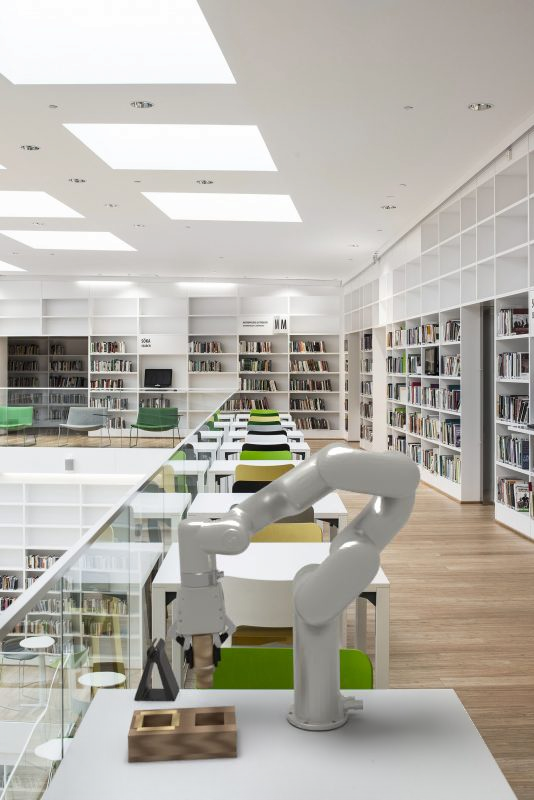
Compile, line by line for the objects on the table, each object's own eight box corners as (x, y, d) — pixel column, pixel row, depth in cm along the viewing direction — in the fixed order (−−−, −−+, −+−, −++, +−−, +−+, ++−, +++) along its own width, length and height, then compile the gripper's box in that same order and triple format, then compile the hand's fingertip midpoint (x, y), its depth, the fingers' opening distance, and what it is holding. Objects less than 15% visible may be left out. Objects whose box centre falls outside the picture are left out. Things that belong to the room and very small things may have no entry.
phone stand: (179, 690, 178) (178, 637, 177) (174, 701, 172) (173, 647, 171) (140, 689, 178) (139, 637, 178) (134, 700, 172) (132, 646, 172)
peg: (215, 680, 165) (213, 628, 164) (215, 689, 160) (212, 636, 160) (194, 682, 165) (191, 630, 164) (193, 691, 160) (190, 637, 160)
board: (235, 730, 157) (234, 704, 157) (236, 757, 146) (236, 729, 146) (134, 735, 156) (134, 709, 156) (128, 762, 145) (127, 734, 145)
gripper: (239, 570, 166) (244, 656, 167) (159, 576, 165) (164, 662, 165) (240, 580, 158) (245, 669, 159) (156, 586, 157) (161, 675, 158)
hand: (203, 664), depth 162 cm, fingers closed on peg, 4 cm apart
